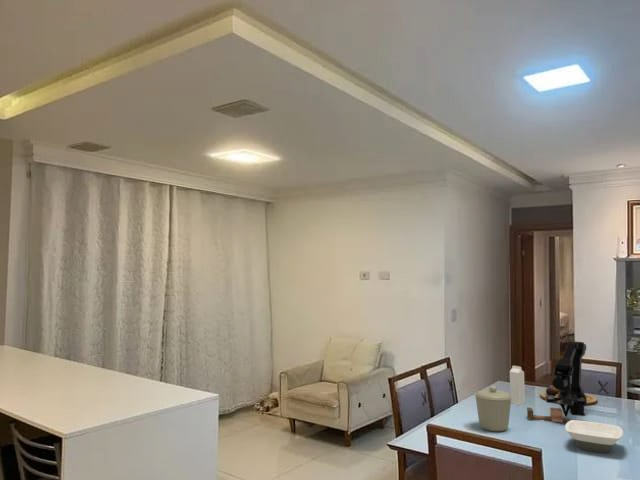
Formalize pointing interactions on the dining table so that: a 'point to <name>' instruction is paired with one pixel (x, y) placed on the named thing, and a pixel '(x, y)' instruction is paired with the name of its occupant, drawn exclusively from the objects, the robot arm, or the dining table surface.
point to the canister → (493, 409)
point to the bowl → (594, 435)
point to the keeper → (556, 414)
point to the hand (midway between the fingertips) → (565, 416)
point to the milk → (517, 385)
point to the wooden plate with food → (555, 393)
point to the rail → (545, 418)
